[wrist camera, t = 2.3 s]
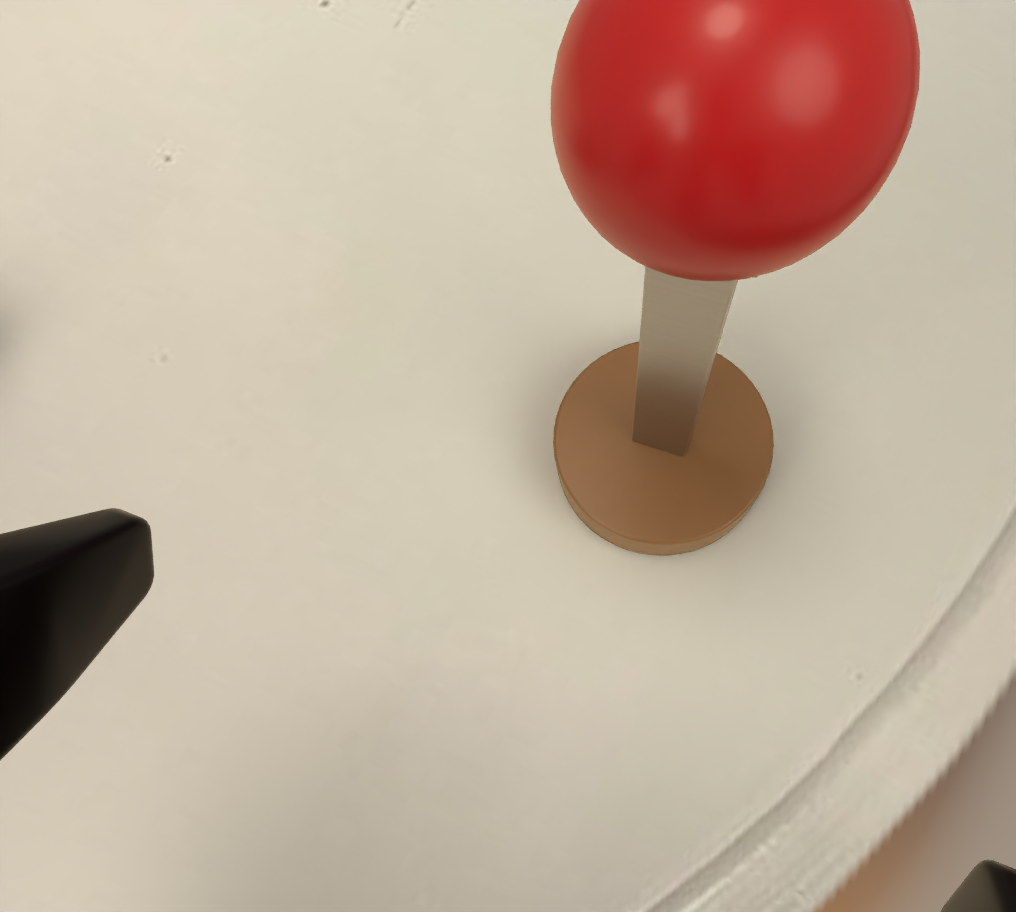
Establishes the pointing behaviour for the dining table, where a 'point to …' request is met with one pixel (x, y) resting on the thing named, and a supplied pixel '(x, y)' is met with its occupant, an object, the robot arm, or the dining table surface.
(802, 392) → the dining table surface
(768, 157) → the red knob post
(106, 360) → the dining table surface
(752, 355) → the dining table surface
